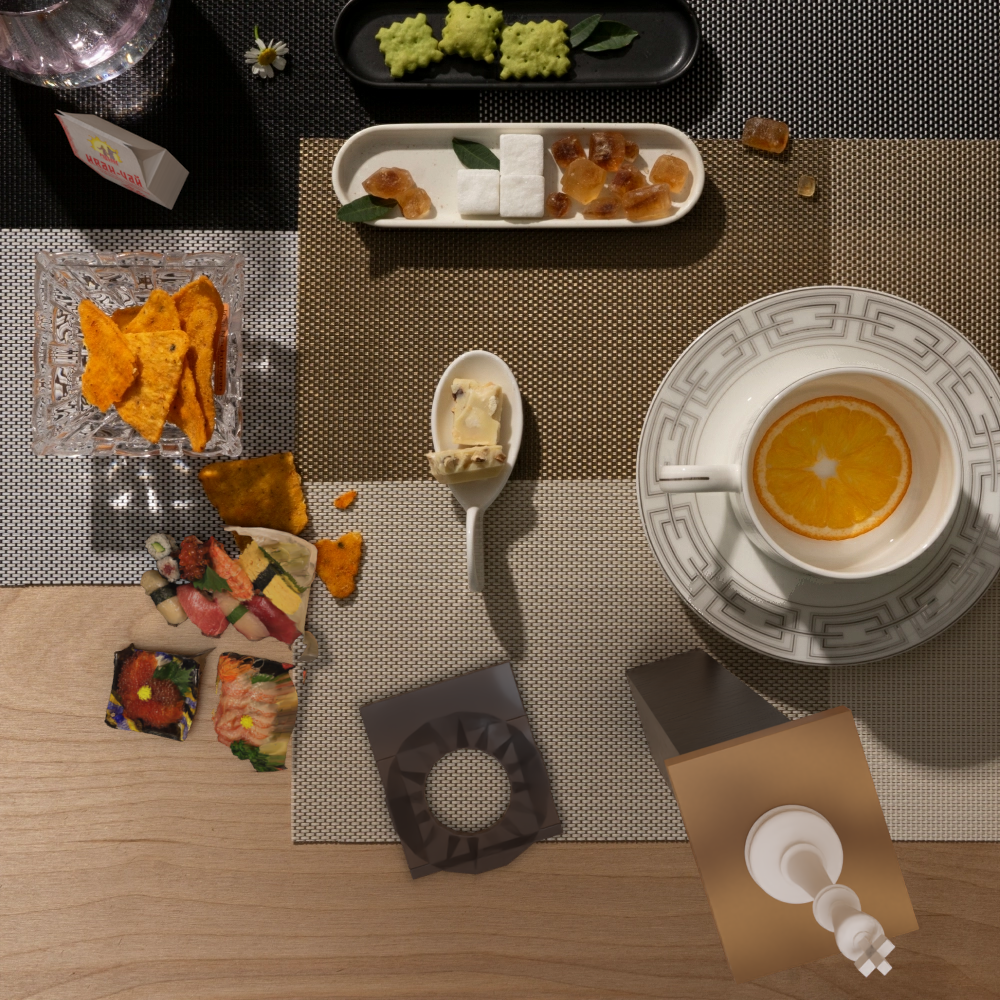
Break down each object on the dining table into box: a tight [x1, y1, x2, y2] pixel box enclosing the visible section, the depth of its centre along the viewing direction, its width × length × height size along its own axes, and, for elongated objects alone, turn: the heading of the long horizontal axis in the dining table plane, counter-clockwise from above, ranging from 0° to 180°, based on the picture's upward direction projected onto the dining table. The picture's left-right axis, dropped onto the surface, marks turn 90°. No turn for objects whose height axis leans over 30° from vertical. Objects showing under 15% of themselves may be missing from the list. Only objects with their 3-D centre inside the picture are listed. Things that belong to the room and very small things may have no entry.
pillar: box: [624, 647, 792, 803], centre depth 56 cm, size 8×7×29 cm
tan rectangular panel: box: [664, 704, 920, 986], centre depth 41 cm, size 12×10×1 cm
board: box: [358, 659, 564, 881], centre depth 70 cm, size 17×14×2 cm
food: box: [103, 524, 319, 773], centre depth 69 cm, size 22×19×4 cm
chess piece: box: [745, 805, 896, 978], centre depth 36 cm, size 5×5×10 cm
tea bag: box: [53, 109, 190, 210], centre depth 66 cm, size 4×7×10 cm, turn 64°
